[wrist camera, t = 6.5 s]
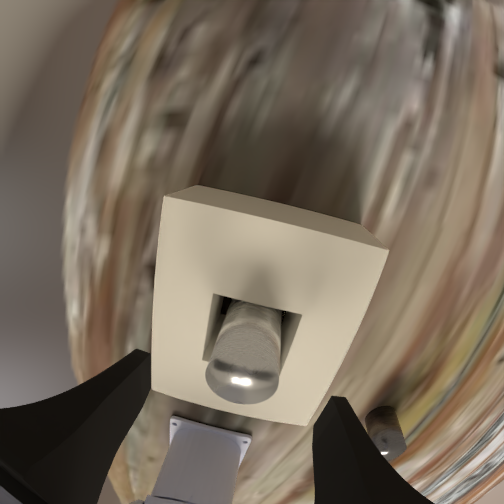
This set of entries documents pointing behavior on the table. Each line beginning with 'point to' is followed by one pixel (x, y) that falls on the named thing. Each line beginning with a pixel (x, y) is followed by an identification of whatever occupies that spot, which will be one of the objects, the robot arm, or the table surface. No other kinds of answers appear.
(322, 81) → the table surface
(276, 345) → the long pin
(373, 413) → the short pin
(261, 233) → the hole block
